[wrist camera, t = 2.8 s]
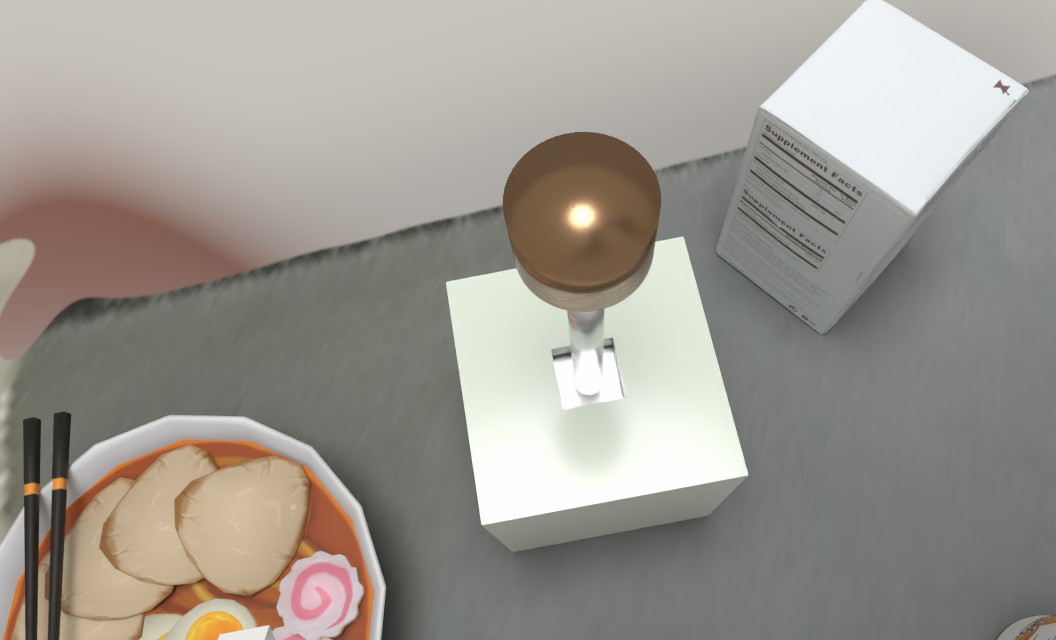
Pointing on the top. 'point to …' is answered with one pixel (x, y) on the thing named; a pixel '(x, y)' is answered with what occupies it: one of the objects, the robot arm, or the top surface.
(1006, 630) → the bath foam
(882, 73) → the supplement box
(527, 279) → the plunger
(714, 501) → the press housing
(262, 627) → the robot arm
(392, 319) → the top surface
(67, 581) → the ramen bowl
